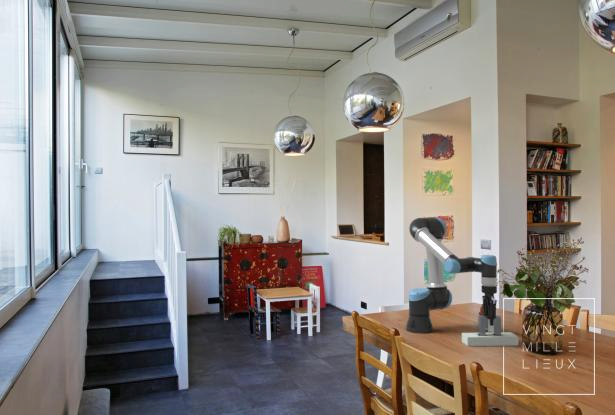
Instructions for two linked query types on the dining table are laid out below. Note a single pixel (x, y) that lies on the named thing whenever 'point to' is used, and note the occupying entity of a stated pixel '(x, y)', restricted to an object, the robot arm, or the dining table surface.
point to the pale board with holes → (490, 339)
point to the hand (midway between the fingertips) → (489, 330)
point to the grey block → (484, 325)
